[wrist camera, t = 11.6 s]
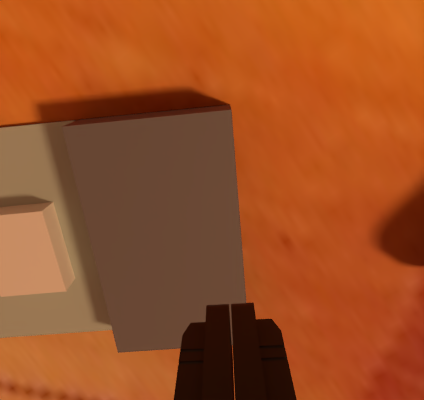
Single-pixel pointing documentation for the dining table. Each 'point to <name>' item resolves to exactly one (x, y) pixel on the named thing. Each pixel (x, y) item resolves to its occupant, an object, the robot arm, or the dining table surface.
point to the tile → (32, 251)
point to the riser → (160, 218)
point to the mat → (70, 226)
